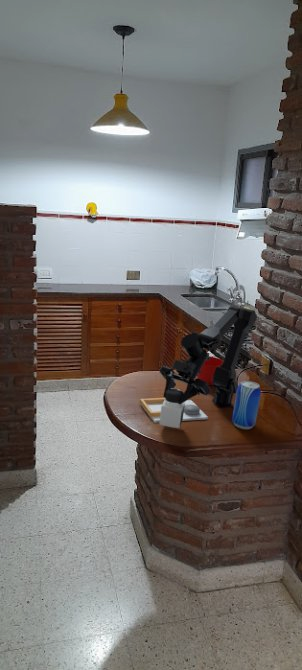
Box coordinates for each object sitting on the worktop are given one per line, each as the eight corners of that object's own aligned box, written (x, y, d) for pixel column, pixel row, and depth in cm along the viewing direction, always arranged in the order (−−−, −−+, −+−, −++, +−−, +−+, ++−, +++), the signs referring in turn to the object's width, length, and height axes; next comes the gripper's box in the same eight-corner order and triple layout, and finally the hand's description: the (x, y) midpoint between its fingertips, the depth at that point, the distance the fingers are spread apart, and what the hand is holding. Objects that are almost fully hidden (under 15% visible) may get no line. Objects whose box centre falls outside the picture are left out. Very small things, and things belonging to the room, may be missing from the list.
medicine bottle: (179, 429, 166) (184, 396, 162) (159, 425, 167) (162, 392, 163) (182, 420, 172) (186, 388, 169) (162, 416, 174) (166, 384, 170)
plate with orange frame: (190, 401, 194) (191, 396, 193) (207, 419, 181) (208, 413, 180) (139, 404, 186) (140, 398, 186) (152, 422, 173) (153, 416, 172)
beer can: (249, 432, 174) (257, 391, 169) (227, 424, 178) (234, 384, 173) (257, 424, 181) (265, 384, 176) (236, 417, 185) (243, 377, 180)
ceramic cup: (181, 376, 220) (183, 355, 218) (216, 377, 224) (220, 356, 221) (188, 387, 208) (191, 365, 205) (226, 388, 212) (229, 366, 209)
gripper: (165, 343, 171) (141, 380, 166) (209, 359, 160) (185, 399, 155) (176, 360, 179) (153, 395, 174) (219, 376, 168) (196, 414, 163)
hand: (171, 400), depth 166 cm, fingers closed on medicine bottle, 6 cm apart
